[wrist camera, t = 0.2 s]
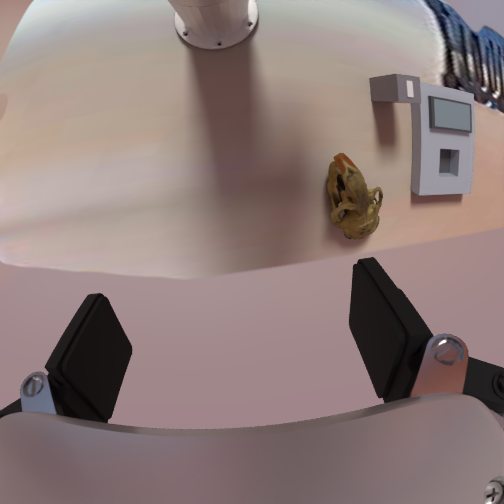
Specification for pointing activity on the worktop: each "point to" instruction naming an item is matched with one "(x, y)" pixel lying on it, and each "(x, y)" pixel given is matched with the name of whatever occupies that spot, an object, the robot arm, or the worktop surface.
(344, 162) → the animal skull
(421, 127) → the dock board
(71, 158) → the worktop surface
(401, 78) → the block
